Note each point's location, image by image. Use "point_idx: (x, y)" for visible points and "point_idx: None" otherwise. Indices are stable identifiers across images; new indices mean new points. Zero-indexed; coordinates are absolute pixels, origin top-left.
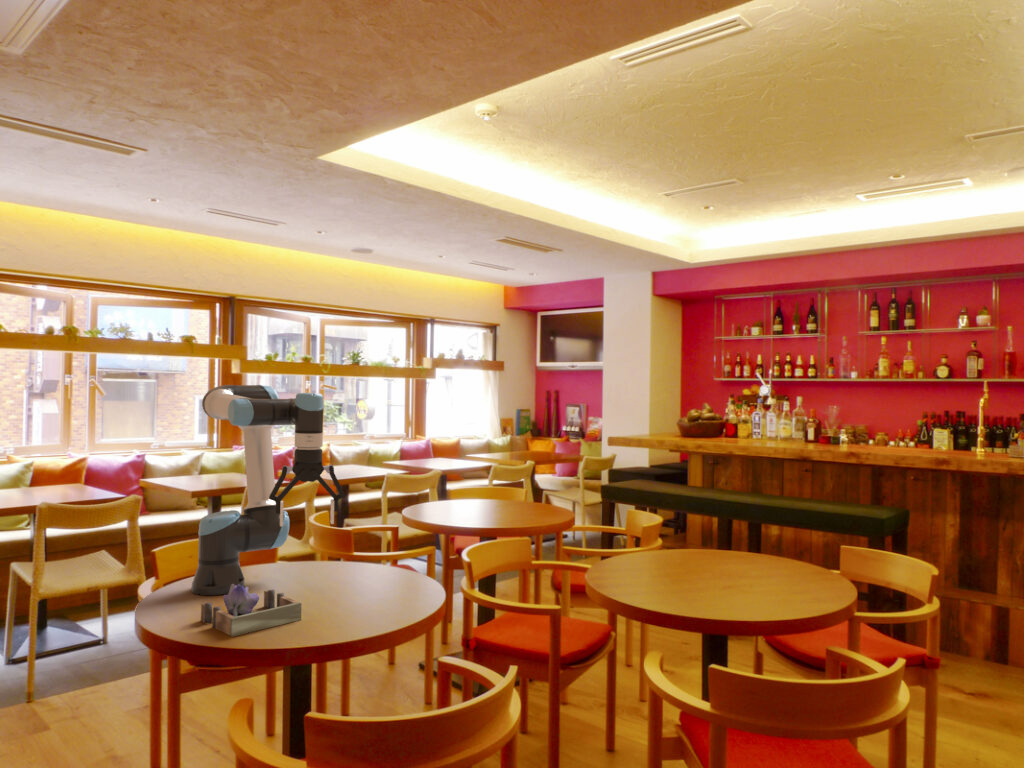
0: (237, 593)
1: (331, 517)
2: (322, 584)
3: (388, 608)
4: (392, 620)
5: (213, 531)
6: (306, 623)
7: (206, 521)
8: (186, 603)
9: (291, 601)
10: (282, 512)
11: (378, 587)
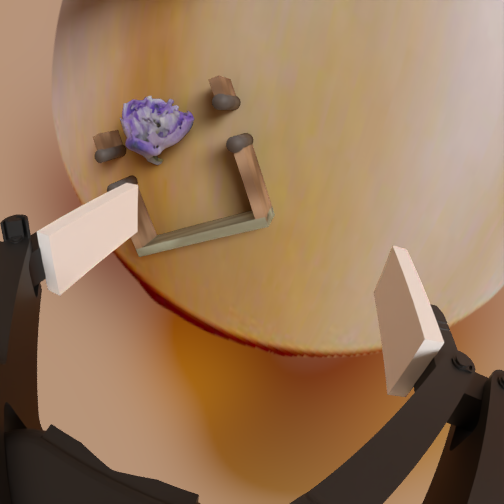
0: (137, 151)
1: (378, 315)
2: None
3: (450, 241)
4: None
5: None
6: (277, 242)
7: None
8: (101, 17)
9: (250, 202)
10: (93, 263)
11: (498, 80)
